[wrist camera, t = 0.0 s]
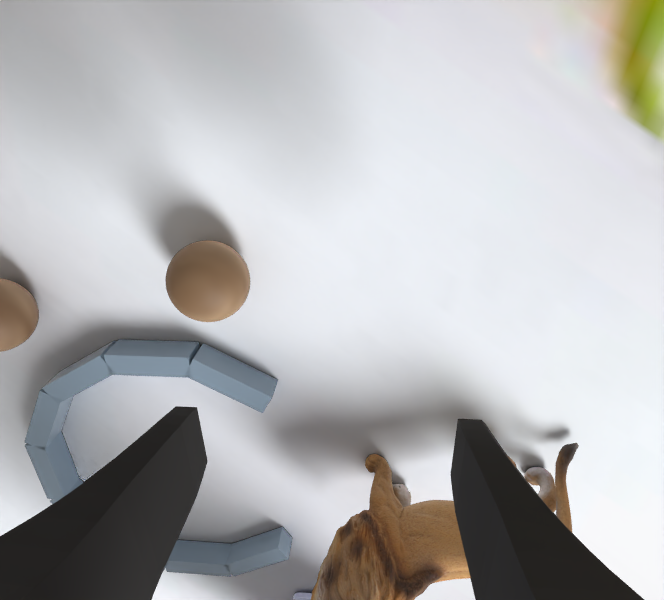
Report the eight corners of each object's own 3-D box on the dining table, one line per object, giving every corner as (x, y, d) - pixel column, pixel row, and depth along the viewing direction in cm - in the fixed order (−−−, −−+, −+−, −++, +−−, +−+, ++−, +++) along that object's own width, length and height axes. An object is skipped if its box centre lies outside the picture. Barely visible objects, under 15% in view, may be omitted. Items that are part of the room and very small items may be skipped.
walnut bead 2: (261, 300, 22) (242, 338, 19) (191, 299, 23) (160, 336, 19) (254, 230, 21) (232, 258, 17) (178, 229, 21) (142, 257, 18)
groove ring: (294, 559, 31) (290, 581, 30) (88, 544, 32) (76, 564, 31) (274, 344, 23) (268, 360, 22) (5, 336, 25) (-16, 350, 23)
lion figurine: (345, 524, 29) (333, 696, 21) (308, 468, 27) (279, 633, 19) (583, 468, 25) (680, 651, 17) (560, 397, 23) (657, 566, 15)
